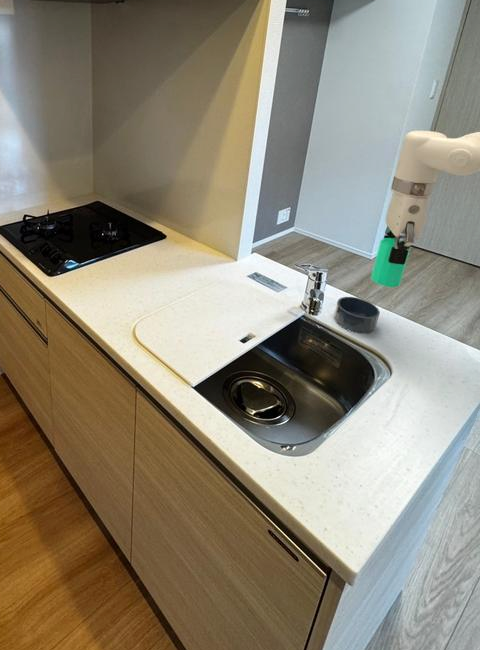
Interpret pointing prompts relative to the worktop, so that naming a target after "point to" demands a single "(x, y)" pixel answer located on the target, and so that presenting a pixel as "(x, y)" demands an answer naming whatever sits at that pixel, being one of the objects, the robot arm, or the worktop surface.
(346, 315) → the bowl
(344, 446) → the worktop surface
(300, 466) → the worktop surface
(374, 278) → the candle
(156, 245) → the worktop surface
